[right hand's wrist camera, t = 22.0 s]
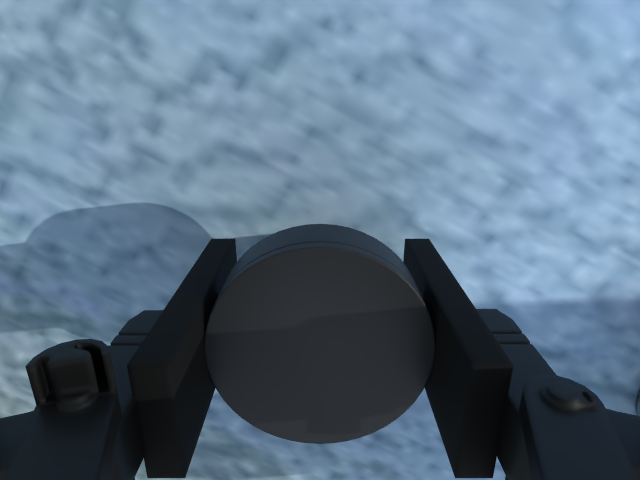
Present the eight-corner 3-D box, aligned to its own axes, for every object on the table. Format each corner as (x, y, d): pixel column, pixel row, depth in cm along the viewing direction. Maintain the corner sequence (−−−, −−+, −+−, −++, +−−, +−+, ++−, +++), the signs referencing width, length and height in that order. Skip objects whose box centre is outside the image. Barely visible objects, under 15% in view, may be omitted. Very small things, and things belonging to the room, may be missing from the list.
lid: (199, 236, 11) (179, 262, 9) (416, 211, 11) (432, 233, 9) (239, 408, 13) (228, 453, 11) (424, 390, 13) (438, 434, 11)
